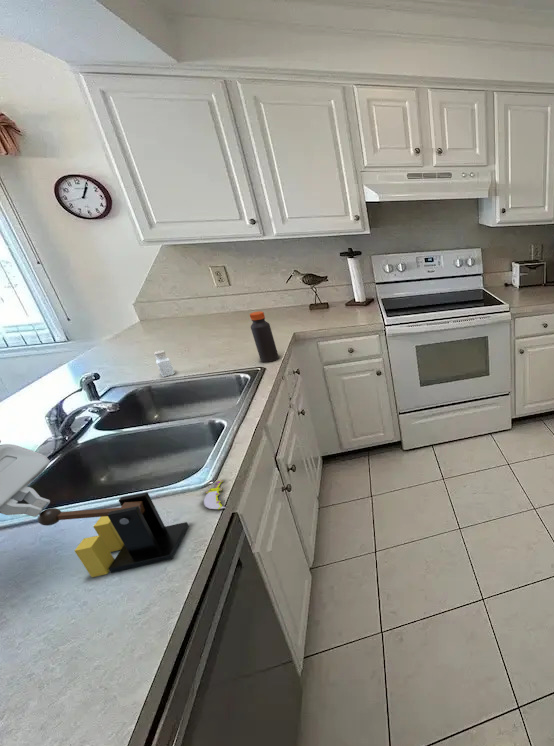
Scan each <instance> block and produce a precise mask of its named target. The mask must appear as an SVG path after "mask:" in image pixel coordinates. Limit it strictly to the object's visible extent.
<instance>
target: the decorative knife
mask: <svg viewBox="0 0 554 746" xmlns="http://www.w3.org/2000/svg"><path fill="white" fill-rule="evenodd" d="M223 482H224V480H223V479H218V480H216V481H215V482H214V483H215V485H214V487H212V488H208V489H207V490H206V491H205V497H204V499H203V505H204V506H205V507H206V508H207V509H210V510H222V509H226V508H227V507H226V506H223V504H222V503H221V502H222V501H221V500H219V497H218V496H220V495H221V494H220V492H223V487H222V486H221V484H222V483H223ZM220 486H221V487H220Z"/></svg>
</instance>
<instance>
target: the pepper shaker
mask: <svg viewBox="0 0 554 746" xmlns="http://www.w3.org/2000/svg"><path fill="white" fill-rule="evenodd" d="M153 355H154V357H155V358H156V360H155V363H156V365H157V367H158V370H159V372H160V375H161V376H162V377H163V378H164V377H169V376H172V375H173V376H174V375H175V373H176V372H175V370H174V367H173V364H172V362H171V361H170V360H171V359H170V358H169V357H167V354H166V351H165V350H157V351H154V353H153Z"/></svg>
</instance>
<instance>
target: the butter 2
mask: <svg viewBox="0 0 554 746" xmlns="http://www.w3.org/2000/svg"><path fill="white" fill-rule="evenodd" d="M74 553H75V554H76V556H77V557H78V560H80V562H81V563H82V565H83V566H84V568H85V569H86V571H87V573H88V574H89V575H90V577H91V578H96V577H100V576H105V575H108V574H109V572H110V570H109V567H110V566H111V564H112V563H113V561H114V560H115V558H114V556H113V554H112V552H110V551H109V549H108V548H107V546H106V545H105V543H104V541H103V540H102V538H101V536H100V535H98V534H97V535H94V536H89V537H85V538H83V539H82V540H81V541H80V543H79V544H78V545H77V546H76V547H75V549H74Z"/></svg>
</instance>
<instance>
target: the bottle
mask: <svg viewBox="0 0 554 746" xmlns="http://www.w3.org/2000/svg"><path fill="white" fill-rule="evenodd" d="M249 317H250V320H251V322H252V324H251V325H250V330H251V334H252V337H253V339H254V343H255V346H256V351H257V354H258V357H259V360H260V362H262V363H271V362H272V363H273V362H275V361H277V360H279V357H280V356H279V353H278V349H277V346H276V342H275V338H274V334H273V332H272V331H273V330H272V327H271V325H270V323H269V322H268V321H266V316H265V313H264V311H259V310H258V311H253V312H250V313H249Z"/></svg>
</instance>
